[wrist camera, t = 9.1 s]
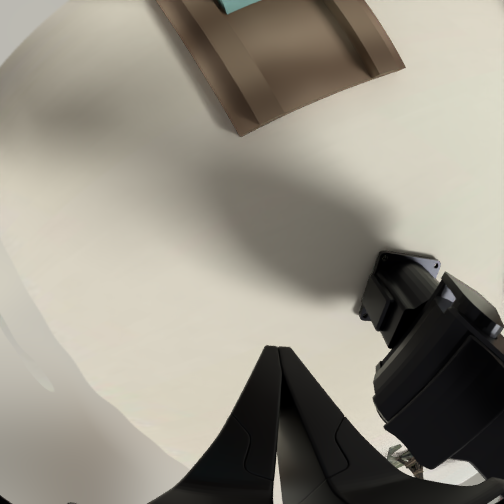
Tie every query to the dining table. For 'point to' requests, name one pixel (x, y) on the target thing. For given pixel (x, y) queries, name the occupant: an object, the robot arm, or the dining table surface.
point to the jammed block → (234, 4)
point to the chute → (281, 52)
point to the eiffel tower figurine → (402, 461)
